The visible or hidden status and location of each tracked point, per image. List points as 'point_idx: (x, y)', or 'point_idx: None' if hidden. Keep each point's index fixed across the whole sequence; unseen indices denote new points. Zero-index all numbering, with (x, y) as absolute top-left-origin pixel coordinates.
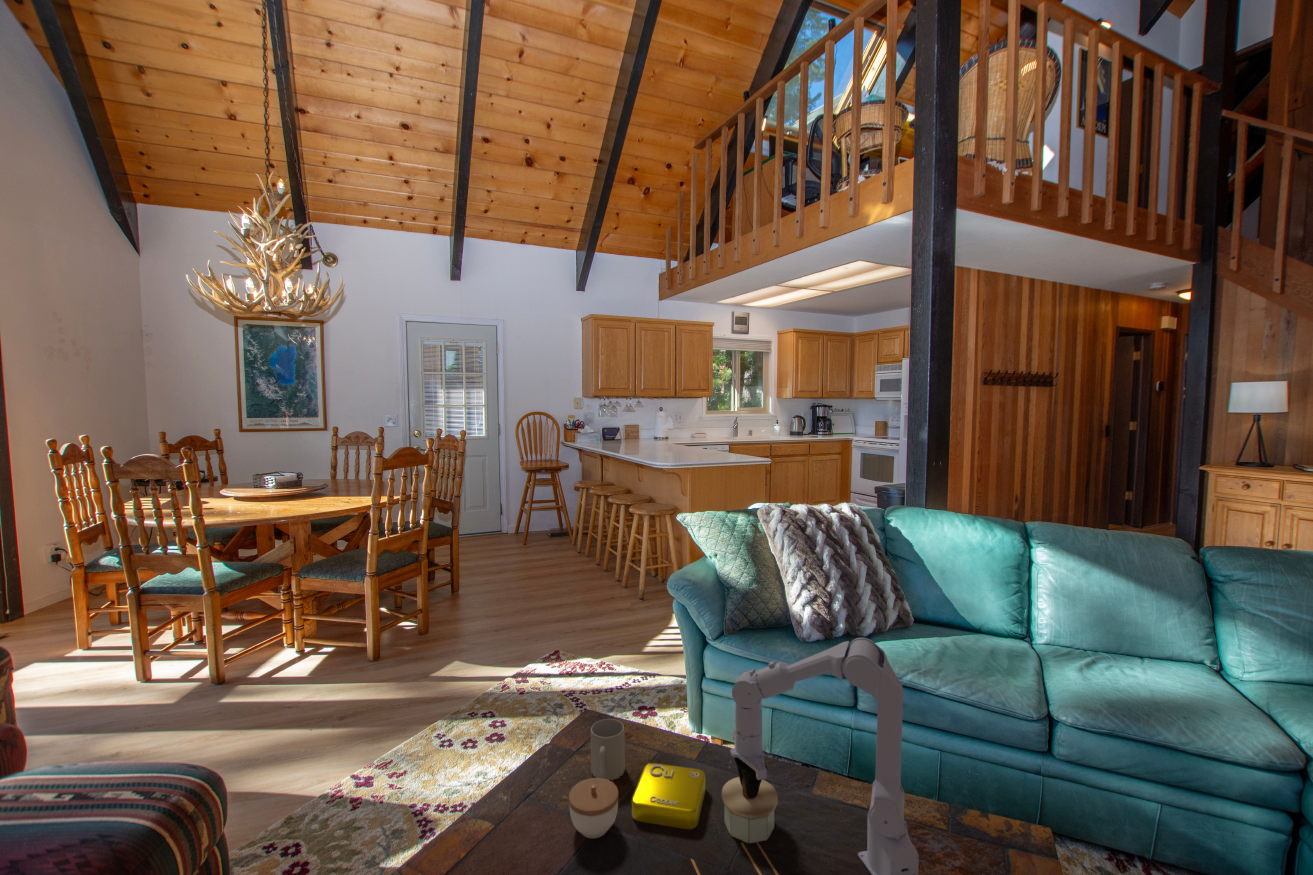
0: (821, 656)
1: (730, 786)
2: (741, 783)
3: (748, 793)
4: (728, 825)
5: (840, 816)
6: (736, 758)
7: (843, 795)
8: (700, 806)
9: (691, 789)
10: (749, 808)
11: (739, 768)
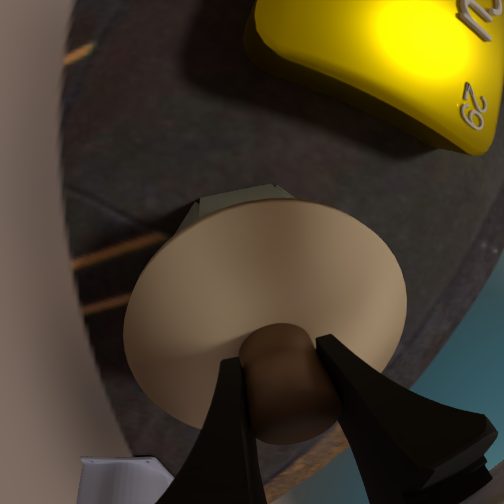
0: None
1: (355, 264)
2: (321, 347)
3: (217, 379)
4: (224, 198)
5: (261, 452)
6: (410, 472)
7: (318, 455)
8: (343, 96)
9: (405, 65)
10: (167, 341)
11: (368, 411)
